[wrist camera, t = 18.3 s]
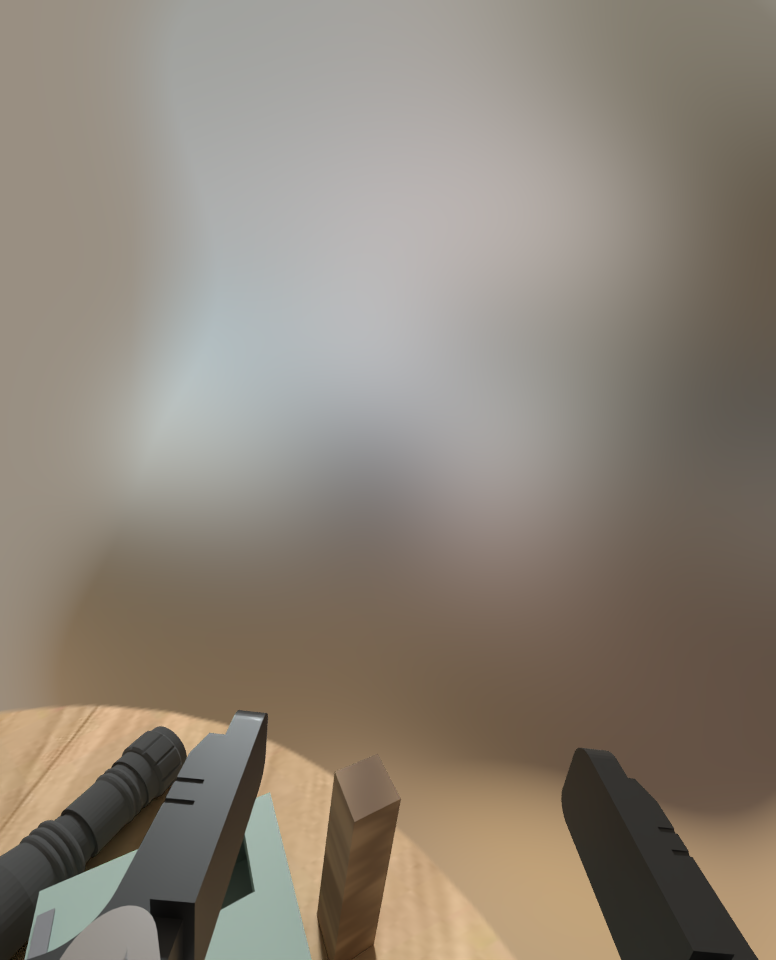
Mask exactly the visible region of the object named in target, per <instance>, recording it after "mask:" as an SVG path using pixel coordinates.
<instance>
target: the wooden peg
mask: <svg viewBox="0 0 776 960" xmlns="http://www.w3.org/2000/svg"><path fill="white" fill-rule="evenodd" d="M400 800H401V798H400V796H399V794H398V793H397V790H396V788H395V787H394V785H393V783H392V781H391V779H390V777H389V775H388V773H387V771H386V769H385V767H384V765H383V763H382V761H381V759H380V757H379V755H378V754H376V755H374V756H372V757H369V758H367V759H364V760H362V761H359V762H357V763H355V764H352V765H350V766H348V767H345V768H343V769H340V770H338V771H335V775H334V783H333V791H332V799H331V807H330V815H329V823H328V831H327V839H326V847H325V855H324V863H323V871H322V879H321V887H320V895H319V903H318V911H317V916H318V920H319V924H320V928H321V932H322V936H323V939H324V943H325V947H326V951H327V955H328V959H329V960H351V959H353V958H354V957H355V956H357V955H358V954H360V953H361V952H363V951H364V950H366V949H367V948H368V947H370V946H371V945H373V944H374V940H375V935H376V929H377V924H378V919H379V913H380V908H381V903H382V897H383V892H384V886H385V881H386V876H387V870H388V865H389V860H390V854H391V849H392V844H393V838H394V833H395V827H396V822H397V817H398V811H399V806H400Z"/></svg>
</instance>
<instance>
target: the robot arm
mask: <svg viewBox="0 0 776 960" xmlns="http://www.w3.org/2000/svg"><path fill="white" fill-rule="evenodd" d="M267 723H268V714H267V713H260V712H251V711H242V710H238V711H237V712H236V714H235V715H234V717H233V719H232V721H231V724H230V726H229V728H228V730H227V732H226V734H225V735H224V734H214V733H209V734H208V735H207V736H206V737H205V738H204V739H203V740H202V741H201V742H200V743H199V744H198V745H197V746H196V747H195V748H194V749H193V750H192V751H191V752H190V753H189V755H188V757H187V759H186V761H185V763H184V764H183V766H182V768H181V770H180V772H179V774H178V776H177V779H176V781H175V782H174V783H173V785H172V787H171V789H170V791H169V793H168V794H167V796H166V799H165V802H164V803H163V804H162V806H161V807H160V809H159V811H158V813H157V815H156V817H155V819H154V821H153V822H152V824H151V826H150V828H149V830H148V832H147V834H146V836H145V837H144V839H143V841H142V843H141V845H140V847H139V849H138V850H137V852H136V854H135V856H134V858H133V860H132V862H131V864H130V865H129V867H128V869H127V871H126V873H125V875H124V877H123V879H122V880H121V882H120V884H119V886H118V888H117V890H116V891H115V893H114V895H113V896H112V898H111V900H110V901H109V902H108V904H107V905H106V906H105V908H104V909H103V910H102V911H101V913H100V914H99V915H98V916H97V917H96V918H95V919H94V920H93V921H92V922H91V923H90V924H89V925H88V926H87V927H86V928H85V929H84V930H83V931H81V932H80V933H79V934H78V935H77V936H75V937H74V938H72V939H71V940H69V941H68V942H67V943H65V944H63V945H62V946H60V947H58V948H56V949H54V950H52V951H50V952H47V953H45V954H42V955H39V956H36V957H33V958H30V959H27V960H205V957H206V954H207V951H208V948H209V945H210V942H211V938H212V935H213V932H214V929H215V926H216V923H217V920H218V916H219V913H220V910H221V907H222V904H223V901H224V897H225V894H226V891H227V888H228V885H229V882H230V879H231V875H232V872H233V869H234V866H235V863H236V860H237V856H238V853H239V850H240V847H241V844H242V841H243V838H244V834H245V831H246V828H247V825H248V822H249V819H250V816H251V812H252V809H253V806H254V803H255V800H256V797H257V793H258V790H259V787H260V783H261V779H262V775H263V770H264V764H265V755H266V739H267ZM562 809H563V814H564V818H565V821H566V824H567V826H568V829H569V831H570V833H571V836H572V839H573V841H574V844H575V846H576V849H577V851H578V854H579V856H580V858H581V861H582V863H583V866H584V868H585V871H586V873H587V876H588V878H589V880H590V883H591V886H592V888H593V890H594V893H595V896H596V898H597V901H598V903H599V906H600V908H601V911H602V913H603V916H604V918H605V920H606V923H607V925H608V928H609V930H610V933H611V935H612V938H613V940H614V943H615V945H616V947H617V950H618V953H619V955H620V957H621V960H758V958H757V957H756V955H755V954H754V952H753V951H752V949H751V948H750V946H749V945H748V943H747V942H746V940H745V938H744V937H743V936H742V934H741V932H740V931H739V929H738V928H737V926H736V924H735V923H734V921H733V920H732V918H731V917H730V915H729V914H728V912H727V910H726V909H725V907H724V906H723V904H722V903H721V901H720V900H719V898H718V896H717V895H716V893H715V892H714V890H713V889H712V887H711V885H710V884H709V882H708V881H707V879H706V878H705V876H704V874H703V873H702V871H701V870H700V868H699V867H698V865H697V864H696V862H695V860H694V859H693V857H690V856H689V853H688V850H687V848H686V846H685V845H684V843H683V842H682V840H681V839H680V837H679V835H678V834H675V832H674V828H673V826H672V824H671V823H670V821H669V820H668V818H667V817H666V815H665V814H664V812H663V810H662V809H661V807H660V806H659V804H658V803H657V801H656V800H655V799H654V798H653V797H652V796H651V795H650V794H649V793H648V792H647V791H646V790H645V789H644V788H643V787H642V786H641V785H640V784H639V783H638V782H637V781H636V780H635V779H631V778H627V776H626V774H625V772H624V771H623V769H622V767H621V766H620V764H619V763H618V761H617V759H616V758H615V756H614V755H613V754H612V753H610V752H609V751H604V750H594V749H585V748H578V749H576V751H575V753H574V756H573V759H572V762H571V765H570V768H569V771H568V774H567V777H566V780H565V783H564V786H563V790H562Z"/></svg>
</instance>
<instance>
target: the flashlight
mask: <svg viewBox="0 0 776 960" xmlns="http://www.w3.org/2000/svg"><path fill="white" fill-rule="evenodd" d="M186 759H187V755H186V750H185V748H184V745H183V743H182V742H181V740H180V739H179V737H178V736H177V735H176V734H175V733H174V732H172V731H171V730H170V729H168V728H166V727H161V726H159V727H156V728H154V729H153V730H152V731H147V732H145V733H144V734H143V735H142V736H140V737H139V738H138V739H137V740H136V741H135V742H133V743H132V744H131V745H130V746H129V747H128V748H126V749H125V750H124V752H123V754H122V757H121V758H120V759H119V760H117V761H116V762H115V763H114V764H113V765H112V767H111V769H108V770H107V771H106V772H105V773H104V774H103V775H101V776H100V777H99V778H98V779H97V780H96V782H95V783H94V784H93V785H92V786H91V787H90V788H89V789H88V790H86V791H85V792H84V793H83V794H82V795H81V796H80V797H78V798H77V799H76V800H75V801H74V802H73V803H72V804H71V805H69V806H68V807H67V808H66V809H65V810H64V811H63V812H62V813H61V816H60V817H58V818H57V819H56V820H55V821H53V820H48V821H44V822H42V823H41V824H40V825H39V826H38V828H37V829H34V830H33V831H32V832H31V833H30V834H29V836H27V837H25V838H23V839H22V841H21V842H20V844H19V845H18V846H16V847H15V848H13V849H11V850H10V851H8V852H7V853H5V854H3V855H2V856H0V960H9V959H10V958H11V957H12V956H13V955H14V954H15V953H16V952H17V951H18V950H19V949H20V948H21V947H22V946H23V944H24V943H25V942H26V941H27V940H28V939H29V937H30V932H31V928H32V923H33V919H34V914H35V910H36V905H37V901H38V896H39V892H40V891H42V890H44V889H46V888H49V887H51V886H53V885H56V884H58V883H60V882H62V881H65V880H67V879H69V878H72V877H74V876H76V875H79V874H81V873H83V872H84V871H85V864H86V863H87V862H88V860H89V859H90V857H94V856H96V854H97V853H98V852H99V851H100V850H101V849H102V848H103V847H104V846H105V845H106V844H107V843H108V842H109V841H110V840H111V839H112V838H113V837H114V836H115V835H116V834H117V833H118V832H119V831H120V829H121V828H122V827H123V826H124V825H125V824H127V823H129V822H130V821H132V820H133V818H134V816H136V815H137V814H138V813H139V812H140V810H141V808H144V807H145V806H147V804H148V803H149V802H150V801H151V800H152V799H153V798H157V797H159V796H161V795H162V794H163V793H164V792H165V791H166V789H167V788H168V787H169V786H170V785H171V784H172V783H173V782H174V781H175V780H176V779H177V776H178V774H179V772H180V770H181V768H182V766H183V764H184V763H185V761H186Z"/></svg>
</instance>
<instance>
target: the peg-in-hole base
mask: <svg viewBox="0 0 776 960" xmlns="http://www.w3.org/2000/svg"><path fill="white" fill-rule="evenodd" d="M137 850H138V849H137ZM137 850H135V851H132V852H130V853H128V854H125V855H123V856H121V857H118V858H116V859H114V860H111V861H109V862H107V863H104V864H102V865H100V866H97V867H95V868H93V869H90V870H88V871H86V872H83V873H81V874H79V875H76V876H74V877H72V878H69V879H67V880H65V881H62V882H60V883H58V884H56V885H53V886H51V887H49V888H46V889H44V890H42V891H40V892H39V896H38V901H37V905H36V910H35V914H34V919H33V923H32V928H31V932H30V937H29V941H28V946H27V950H26V955H25V959H24V960H27V959H30V958H33V957H36V956H39V955H42V954H45V953H47V952H50V951H52V950H54V949H56V948H58V947H60V946H62V945H63V944H65V943H67V942H68V941H69V940H71V939H72V938H74V937H75V936H77V935H78V934H79V933H80V932H81V931H83V930H84V929H85V928H86V927H87V926H88V925H89V924H90V923H91V922H92V921H93V920H94V919H95V918H96V917H97V916H98V915H99V914H100V913H101V911H102V910H103V909H104V908H105V906H106V905H107V904H108V902H109V901H110V900H111V898H112V896H113V895H114V893H115V891H116V890H117V888H118V886H119V884H120V882H121V880H122V879H123V877H124V875H125V873H126V871H127V869H128V867H129V865H130V864H131V862H132V860H133V858H134V856H135V854H136V852H137ZM205 960H312V959H311V955H310V951H309V947H308V943H307V939H306V935H305V931H304V927H303V923H302V919H301V915H300V911H299V907H298V903H297V899H296V895H295V891H294V887H293V883H292V879H291V875H290V871H289V867H288V863H287V859H286V855H285V851H284V847H283V843H282V839H281V835H280V831H279V827H278V823H277V819H276V815H275V811H274V807H273V803H272V799H271V795H270V792H269V793H267V794H265V795H262V796H260V797H258V798H256V800H255V803H254V806H253V809H252V812H251V816H250V819H249V822H248V825H247V828H246V831H245V834H244V838H243V841H242V844H241V847H240V850H239V853H238V856H237V860H236V863H235V866H234V869H233V872H232V875H231V879H230V882H229V885H228V888H227V891H226V894H225V897H224V901H223V904H222V907H221V910H220V913H219V916H218V920H217V923H216V926H215V929H214V932H213V935H212V938H211V942H210V945H209V948H208V951H207V954H206V957H205Z"/></svg>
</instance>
